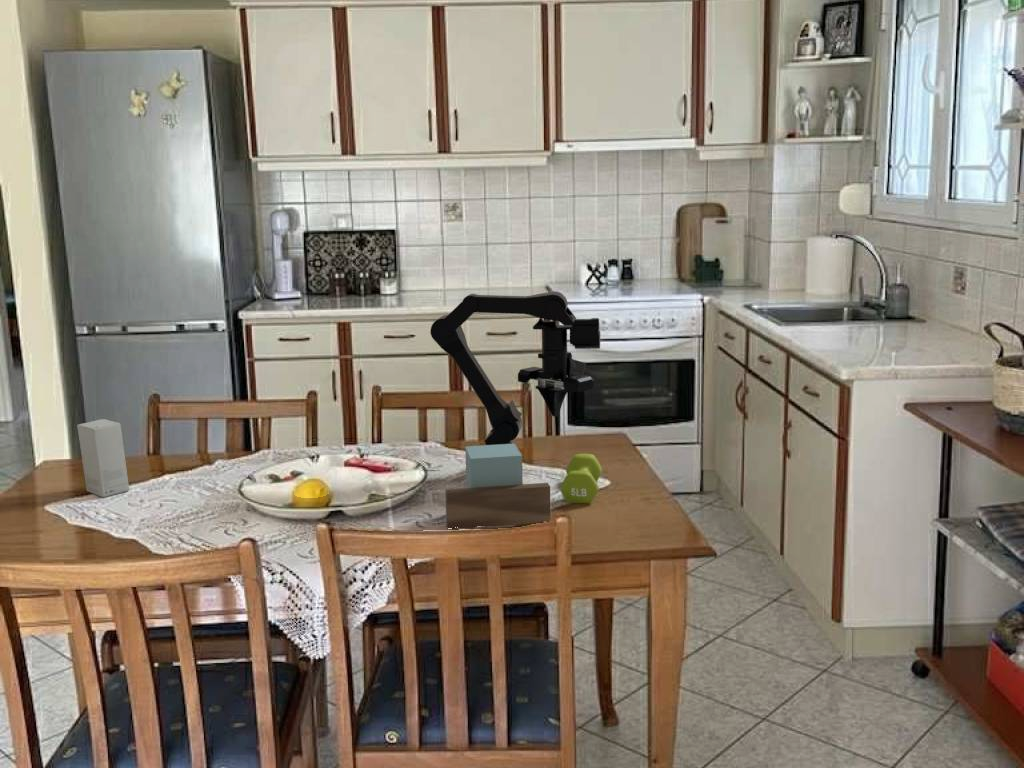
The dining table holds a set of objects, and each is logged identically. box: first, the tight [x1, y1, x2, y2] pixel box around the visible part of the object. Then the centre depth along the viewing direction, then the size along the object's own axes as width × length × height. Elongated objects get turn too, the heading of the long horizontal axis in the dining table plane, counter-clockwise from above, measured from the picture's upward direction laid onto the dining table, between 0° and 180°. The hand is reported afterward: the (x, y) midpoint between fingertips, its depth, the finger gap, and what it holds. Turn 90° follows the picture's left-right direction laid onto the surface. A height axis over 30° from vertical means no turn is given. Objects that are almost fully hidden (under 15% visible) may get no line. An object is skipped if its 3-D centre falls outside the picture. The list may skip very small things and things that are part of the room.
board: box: [445, 482, 552, 530], centre depth 191 cm, size 2×20×8 cm, turn 99°
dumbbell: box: [560, 453, 603, 505], centre depth 210 cm, size 16×8×7 cm, turn 171°
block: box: [464, 443, 524, 488], centre depth 196 cm, size 9×10×13 cm
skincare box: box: [76, 418, 130, 498], centre depth 218 cm, size 8×7×16 cm
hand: (555, 416), depth 225 cm, fingers closed
